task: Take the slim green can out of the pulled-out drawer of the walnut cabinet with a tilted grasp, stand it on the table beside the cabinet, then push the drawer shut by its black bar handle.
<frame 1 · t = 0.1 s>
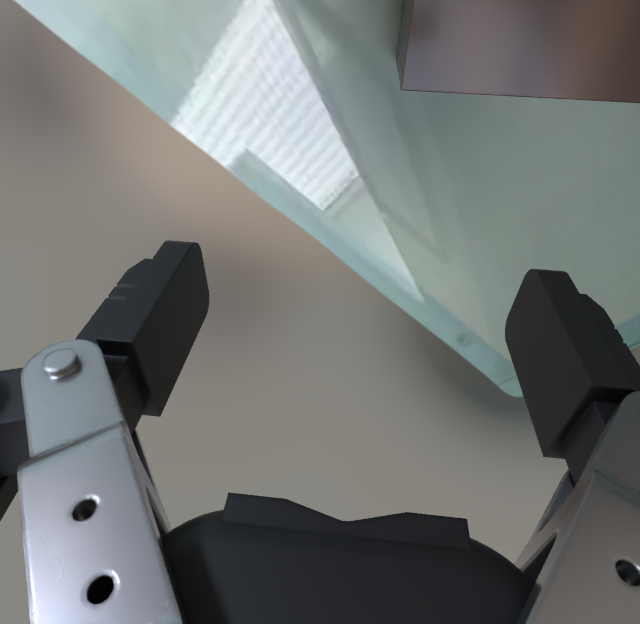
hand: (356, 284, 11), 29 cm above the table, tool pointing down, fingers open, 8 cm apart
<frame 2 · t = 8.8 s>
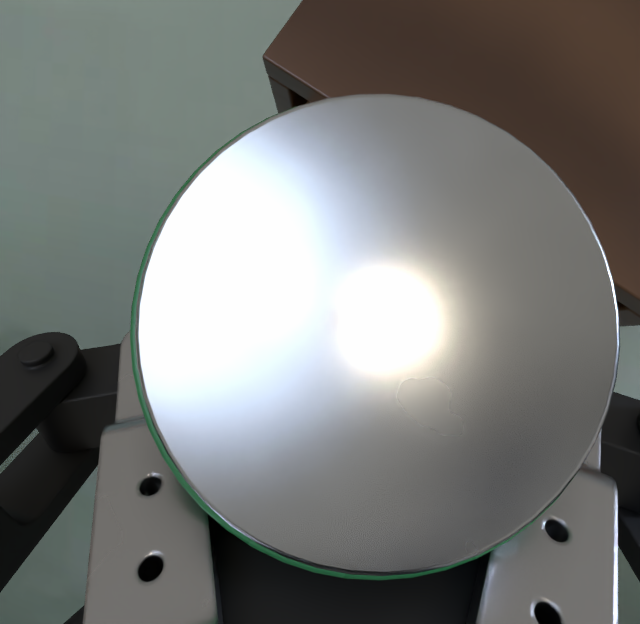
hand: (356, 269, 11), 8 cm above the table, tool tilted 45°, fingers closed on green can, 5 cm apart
drawer: (330, 366, 15), point 4 cm above the table, slide at 10.0 cm, touching green can
cabinet: (503, 116, 20), on the table
green can: (348, 339, 17), point 2 cm above the table, touching drawer, gripper
when the fingers open (6 cm above the table, at t = 17.5 s): green can stays where it is, on the table.
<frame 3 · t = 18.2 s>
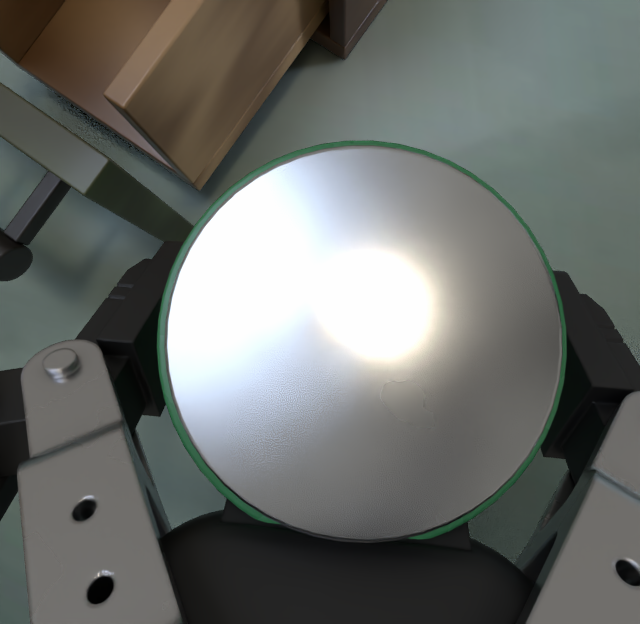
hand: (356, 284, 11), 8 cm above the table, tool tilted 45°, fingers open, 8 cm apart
drawer: (104, 23, 15), point 4 cm above the table, slide at 10.0 cm
green can: (346, 342, 18), on the table
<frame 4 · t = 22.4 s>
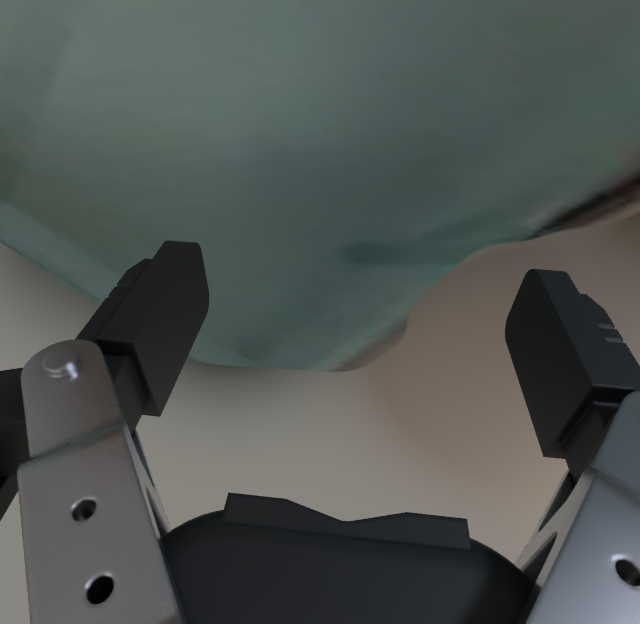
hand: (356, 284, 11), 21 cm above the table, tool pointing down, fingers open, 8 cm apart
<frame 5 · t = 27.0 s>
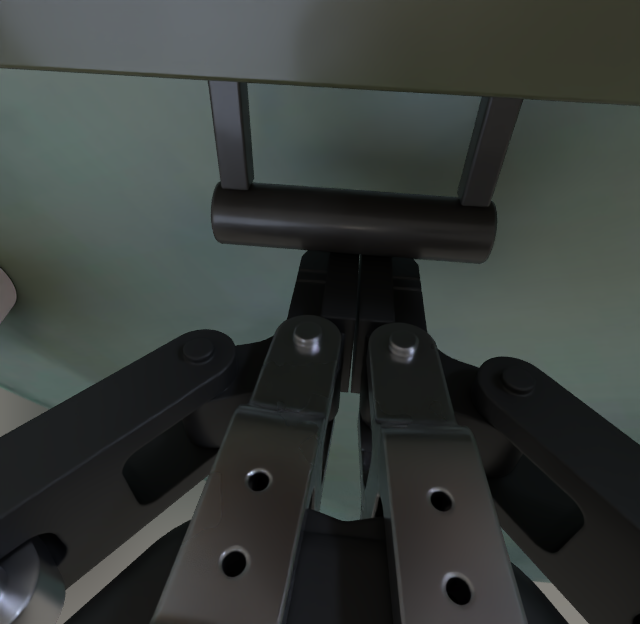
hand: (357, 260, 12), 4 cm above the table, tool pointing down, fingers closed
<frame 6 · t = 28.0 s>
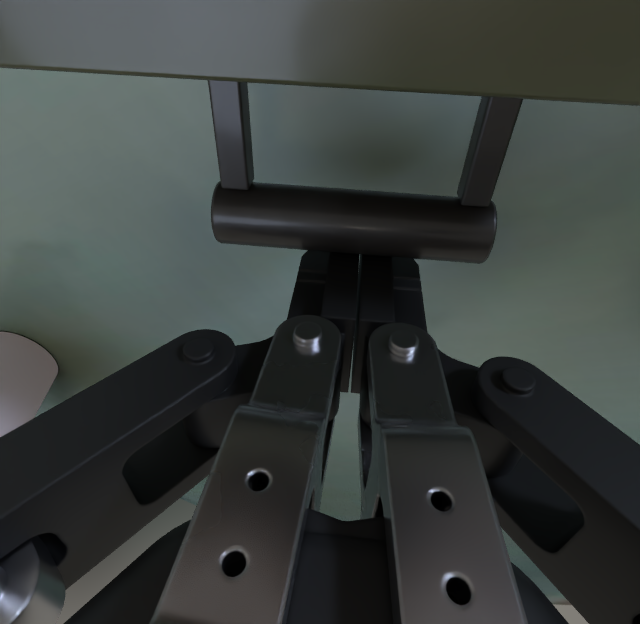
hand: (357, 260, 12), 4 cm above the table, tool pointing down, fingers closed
smoothie: (23, 355, 22), on the table
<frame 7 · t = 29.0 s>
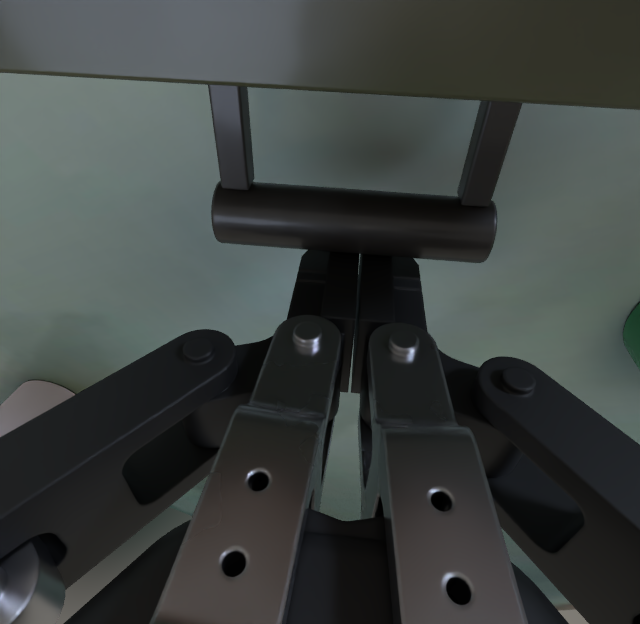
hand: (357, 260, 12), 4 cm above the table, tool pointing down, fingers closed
smoothie: (55, 398, 25), on the table
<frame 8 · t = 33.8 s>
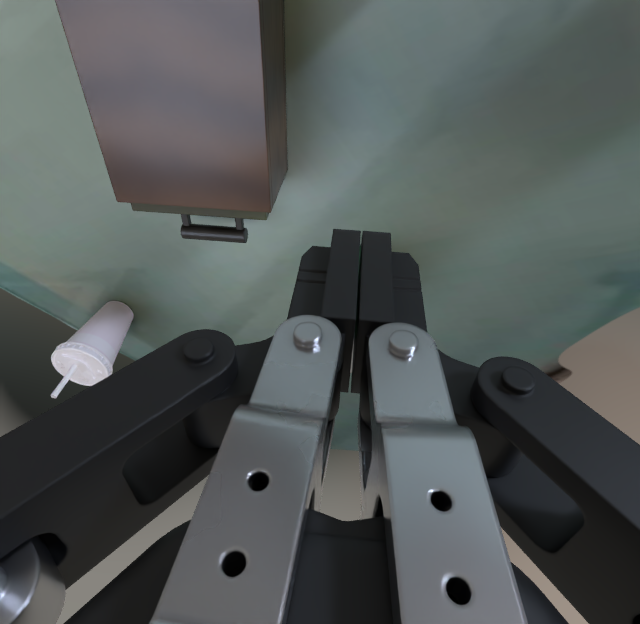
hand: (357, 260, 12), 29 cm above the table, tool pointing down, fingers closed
drawer: (201, 137, 35), point 4 cm above the table, slide at 0.0 cm, touching cabinet
cabinet: (210, 73, 36), on the table
smoothie: (119, 310, 55), on the table
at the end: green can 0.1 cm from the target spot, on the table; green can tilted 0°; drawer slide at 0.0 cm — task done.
